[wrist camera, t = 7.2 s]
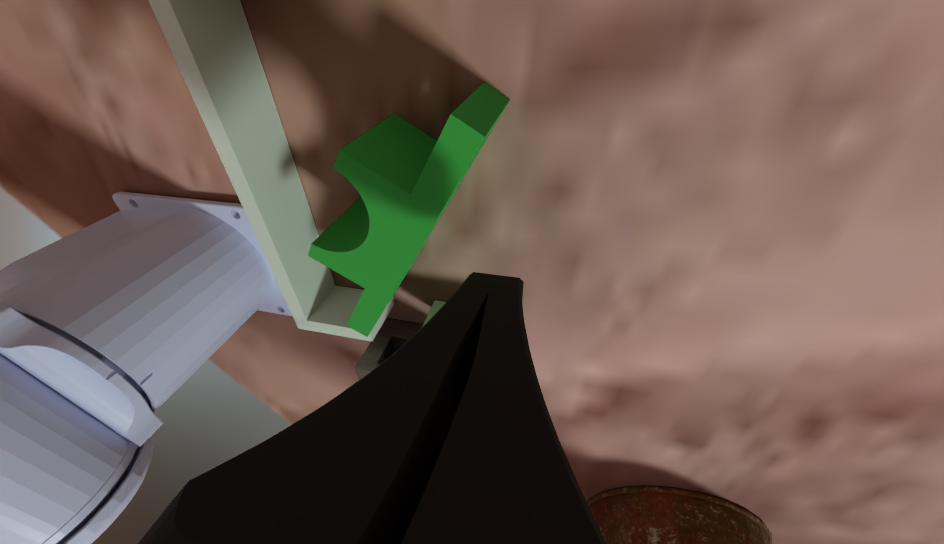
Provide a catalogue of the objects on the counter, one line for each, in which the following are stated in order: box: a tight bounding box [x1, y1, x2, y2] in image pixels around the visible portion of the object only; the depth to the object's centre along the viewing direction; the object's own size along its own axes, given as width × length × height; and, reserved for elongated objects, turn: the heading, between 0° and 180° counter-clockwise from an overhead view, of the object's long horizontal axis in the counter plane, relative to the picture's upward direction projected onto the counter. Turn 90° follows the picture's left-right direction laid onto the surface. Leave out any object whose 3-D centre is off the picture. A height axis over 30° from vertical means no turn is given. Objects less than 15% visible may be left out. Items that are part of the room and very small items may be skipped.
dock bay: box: [148, 0, 446, 342], centre depth 15 cm, size 12×16×3 cm
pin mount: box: [355, 318, 423, 380], centre depth 22 cm, size 3×4×4 cm
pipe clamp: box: [308, 82, 510, 337], centre depth 15 cm, size 11×4×5 cm, turn 151°
